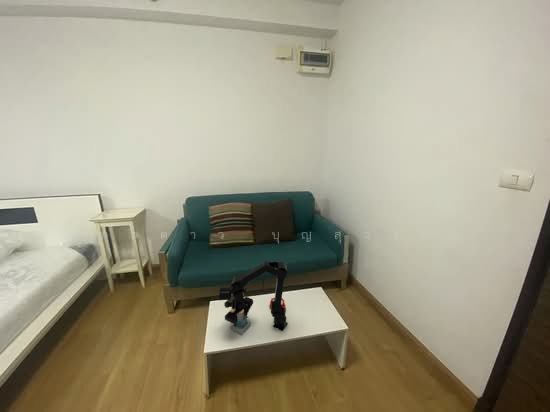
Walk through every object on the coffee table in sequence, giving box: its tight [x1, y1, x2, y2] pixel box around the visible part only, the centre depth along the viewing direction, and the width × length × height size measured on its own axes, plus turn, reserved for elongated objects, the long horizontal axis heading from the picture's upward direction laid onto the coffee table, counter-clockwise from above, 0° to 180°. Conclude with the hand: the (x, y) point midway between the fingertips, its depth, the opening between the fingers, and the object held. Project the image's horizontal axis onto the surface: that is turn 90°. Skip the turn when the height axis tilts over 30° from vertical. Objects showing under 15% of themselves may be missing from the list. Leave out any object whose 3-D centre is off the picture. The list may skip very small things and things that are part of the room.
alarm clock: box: [268, 296, 287, 312], centre depth 146 cm, size 10×6×15 cm
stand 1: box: [228, 308, 244, 314], centre depth 142 cm, size 8×8×2 cm
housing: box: [237, 313, 249, 329], centre depth 131 cm, size 5×7×5 cm
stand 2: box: [230, 320, 252, 336], centre depth 132 cm, size 8×8×2 cm
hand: (240, 321), depth 131 cm, fingers open, 9 cm apart
